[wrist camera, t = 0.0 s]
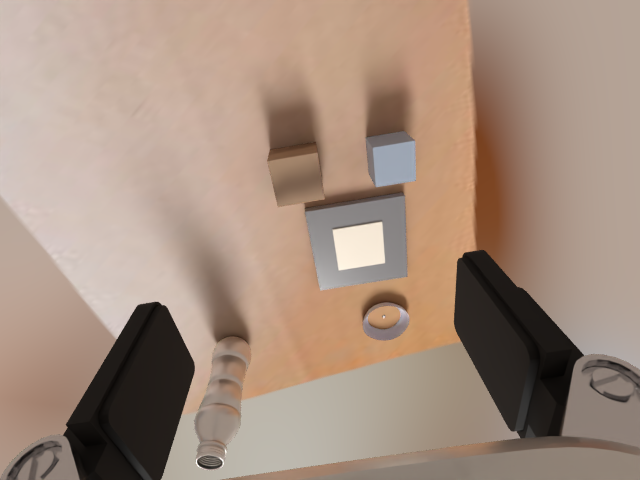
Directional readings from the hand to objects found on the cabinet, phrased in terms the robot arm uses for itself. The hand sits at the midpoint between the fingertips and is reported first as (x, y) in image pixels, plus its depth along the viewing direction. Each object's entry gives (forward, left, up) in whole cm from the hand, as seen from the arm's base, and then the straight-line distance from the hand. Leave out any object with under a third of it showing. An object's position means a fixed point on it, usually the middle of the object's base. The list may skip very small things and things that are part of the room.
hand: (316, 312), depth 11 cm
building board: (+20, +5, -37) cm, 42 cm away
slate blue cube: (+7, +10, -37) cm, 39 cm away
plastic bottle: (+37, -19, -37) cm, 56 cm away
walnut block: (+7, -2, -37) cm, 38 cm away
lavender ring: (+36, +8, -37) cm, 53 cm away
